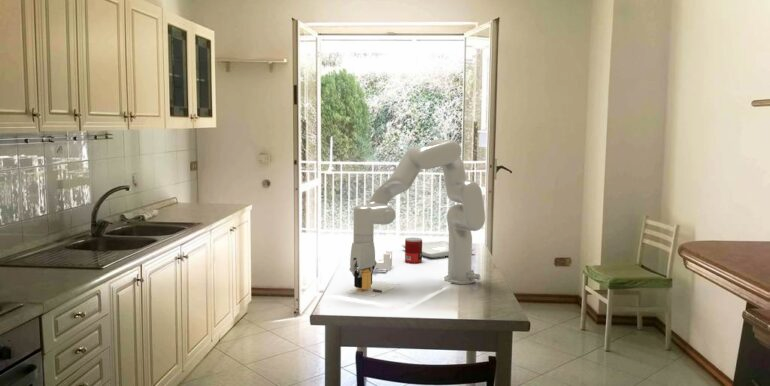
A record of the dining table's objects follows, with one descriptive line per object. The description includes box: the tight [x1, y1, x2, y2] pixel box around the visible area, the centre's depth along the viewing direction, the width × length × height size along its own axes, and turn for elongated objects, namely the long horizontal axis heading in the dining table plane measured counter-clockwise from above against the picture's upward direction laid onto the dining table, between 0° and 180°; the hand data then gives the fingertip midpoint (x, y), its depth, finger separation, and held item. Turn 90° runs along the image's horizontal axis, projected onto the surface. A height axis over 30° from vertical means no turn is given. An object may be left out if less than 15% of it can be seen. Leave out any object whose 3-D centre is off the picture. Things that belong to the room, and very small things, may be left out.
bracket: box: [375, 250, 393, 272], centre depth 275 cm, size 13×7×8 cm, turn 80°
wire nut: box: [355, 268, 371, 289], centre depth 232 cm, size 6×6×7 cm
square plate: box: [401, 240, 475, 259], centre depth 312 cm, size 27×27×4 cm
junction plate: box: [345, 280, 399, 297], centre depth 235 cm, size 12×20×6 cm, turn 150°
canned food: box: [404, 237, 423, 265], centre depth 289 cm, size 8×8×11 cm
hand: (363, 285), depth 232 cm, fingers closed on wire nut, 5 cm apart
